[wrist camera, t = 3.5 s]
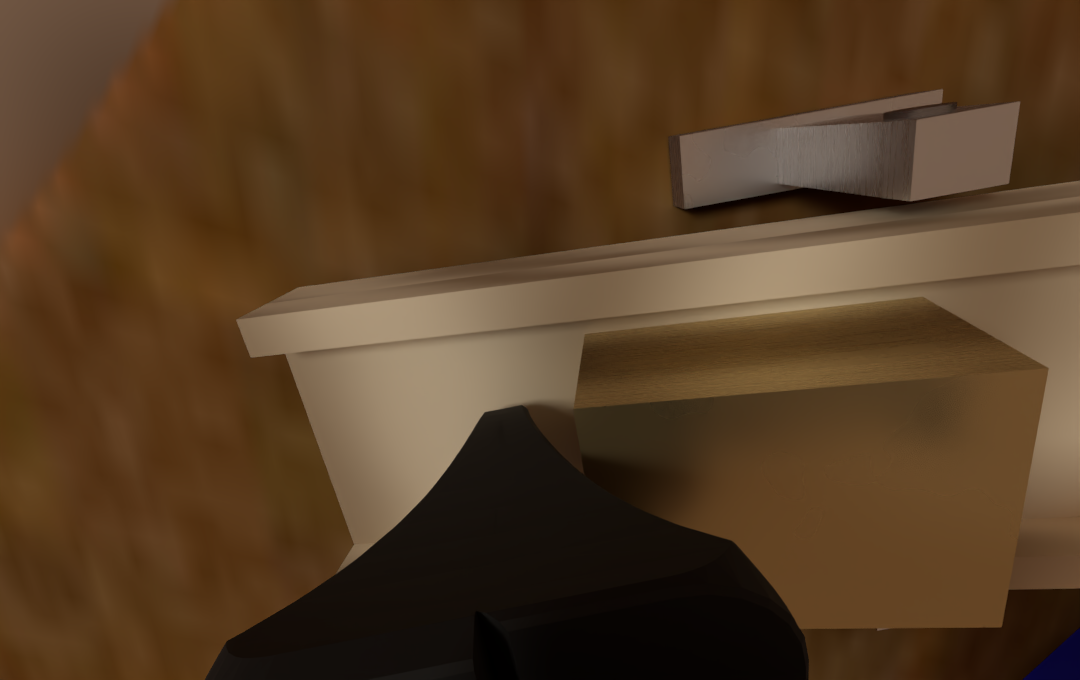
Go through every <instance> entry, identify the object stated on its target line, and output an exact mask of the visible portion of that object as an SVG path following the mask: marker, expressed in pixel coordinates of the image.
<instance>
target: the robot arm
mask: <svg viewBox="0 0 1080 680" xmlns="http://www.w3.org/2000/svg"><path fill="white" fill-rule="evenodd" d="M808 671H809V659H808V653H807V648H806V642H805V636H804V635H803V633H802V632H801V630H800V628H799V627H798V625H797V623H796V621H795V619H794V617H793V616H792V614H791V612H790V611H789V609H788V607H787V606H786V604H785V603H784V602H783V600H782V599H781V597H780V596H779V595H778V593H777V592H776V590H775V589H774V588H773V587H772V585H771V584H770V583H769V582H768V581H767V579H766V578H765V577H764V576H763V575H762V573H761V572H760V571H759V570H758V569H757V567H756V566H755V565H754V564H753V563H752V562H751V561H750V559H749V558H748V557H747V556H746V555H745V554H744V553H743V551H742V550H741V549H740V548H739V547H738V546H737V545H736V544H735V543H734V542H733V541H731V540H728V539H725V538H721V537H718V536H714V535H711V534H708V533H704V532H701V531H697V530H694V529H690V528H687V527H684V526H680V525H678V524H675V523H672V522H670V521H667V520H665V519H662V518H660V517H657V516H655V515H652V514H650V513H647V512H645V511H643V510H641V509H639V508H637V507H635V506H633V505H631V504H629V503H627V502H625V501H623V500H621V499H620V498H618V497H616V496H614V495H612V494H611V493H609V492H608V491H606V490H604V489H603V488H601V487H600V486H599V485H597V484H596V483H594V482H593V481H592V480H590V479H589V478H588V477H586V476H585V475H584V474H583V473H581V472H580V471H579V470H578V469H577V468H575V467H574V466H573V465H572V464H571V463H570V462H569V461H568V460H567V459H566V458H564V457H563V456H562V455H561V454H560V453H559V452H558V451H557V450H556V448H555V447H554V446H553V445H552V444H551V443H550V442H549V441H548V439H547V438H546V437H545V436H544V435H543V434H542V432H541V431H540V430H539V428H538V427H537V426H536V424H535V423H534V421H533V419H532V418H531V416H530V414H529V411H528V409H527V408H526V407H524V406H523V405H519V406H514V407H509V408H504V409H498V410H493V411H488V412H484V414H483V415H482V416H481V418H480V419H479V421H478V422H477V424H476V426H475V427H474V429H473V431H472V432H471V434H470V436H469V437H468V439H467V440H466V442H465V444H464V445H463V447H462V448H461V450H460V451H459V452H458V454H457V455H456V457H455V458H454V460H453V461H452V463H451V464H450V466H449V467H448V468H447V470H446V471H445V472H444V474H443V475H442V476H441V477H440V479H439V480H438V481H437V483H436V484H435V485H434V486H433V488H432V489H431V490H430V491H429V492H428V493H427V495H426V496H425V497H424V498H423V499H422V500H421V501H420V502H419V503H418V504H417V505H416V506H415V507H414V508H413V509H412V510H411V511H410V512H409V513H408V514H407V515H406V516H405V517H404V518H403V519H402V520H401V521H400V522H399V523H398V524H397V525H396V526H395V527H394V528H393V529H392V530H390V531H389V532H388V533H387V534H386V535H384V536H383V537H382V538H381V539H380V540H379V541H377V542H376V543H375V544H374V545H373V546H371V547H370V548H369V549H368V550H367V551H366V552H364V553H363V554H362V555H361V556H360V557H358V558H357V559H356V560H354V561H353V562H352V563H350V564H349V565H348V566H346V567H345V568H344V569H342V570H341V571H340V572H338V573H337V574H336V575H334V576H333V577H331V578H330V579H328V580H327V581H325V582H324V583H322V584H321V585H320V586H318V587H317V588H315V589H314V590H312V591H311V592H309V593H308V594H306V595H305V596H303V597H302V598H300V599H298V600H297V601H295V602H294V603H292V604H290V605H289V606H287V607H285V608H284V609H282V610H280V611H278V612H277V613H275V614H273V615H272V616H270V617H268V618H267V619H265V620H263V621H262V622H260V623H258V624H256V625H255V626H253V627H251V628H250V629H248V630H246V631H245V632H243V633H241V634H239V635H237V636H236V637H234V638H232V639H230V640H228V641H227V642H226V644H225V645H224V647H223V649H222V650H221V652H220V654H219V655H218V657H217V659H216V661H215V663H214V664H213V666H212V668H211V670H210V671H209V673H208V675H207V677H206V679H205V680H808Z"/></svg>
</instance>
